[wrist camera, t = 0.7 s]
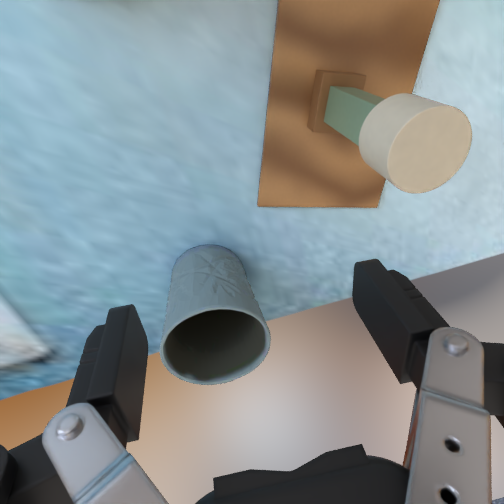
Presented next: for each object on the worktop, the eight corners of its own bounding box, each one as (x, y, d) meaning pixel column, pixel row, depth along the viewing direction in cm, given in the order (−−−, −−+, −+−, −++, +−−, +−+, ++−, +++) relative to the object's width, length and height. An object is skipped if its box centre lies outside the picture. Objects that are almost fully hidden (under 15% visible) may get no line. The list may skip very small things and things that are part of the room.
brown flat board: (281, -28, 28) (282, -29, 27) (438, -7, 30) (442, -8, 30) (257, 204, 38) (257, 206, 38) (375, 205, 41) (377, 207, 40)
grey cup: (155, 295, 43) (146, 378, 33) (180, 225, 38) (179, 297, 28) (232, 312, 46) (246, 391, 36) (264, 249, 42) (289, 320, 32)
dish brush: (310, 69, 31) (403, 102, 18) (362, 73, 32) (487, 108, 19) (301, 126, 34) (376, 193, 21) (349, 129, 35) (451, 194, 22)
